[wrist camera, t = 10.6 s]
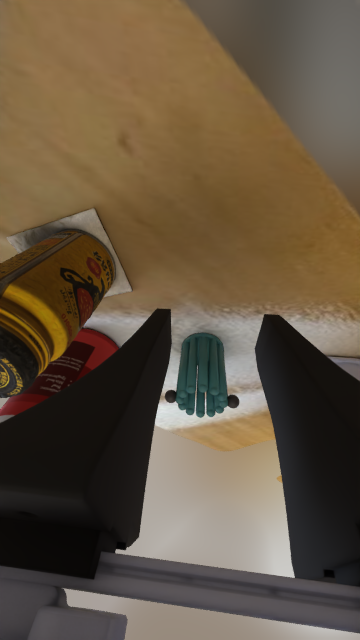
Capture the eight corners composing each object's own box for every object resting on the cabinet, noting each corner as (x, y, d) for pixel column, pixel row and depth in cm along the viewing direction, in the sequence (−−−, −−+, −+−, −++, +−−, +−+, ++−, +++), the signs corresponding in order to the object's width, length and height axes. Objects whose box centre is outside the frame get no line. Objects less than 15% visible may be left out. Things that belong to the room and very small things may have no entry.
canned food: (103, 381, 30) (60, 476, 21) (48, 348, 27) (-29, 442, 18) (138, 355, 26) (103, 457, 17) (78, 314, 23) (0, 411, 14)
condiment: (133, 290, 21) (71, 405, 11) (58, 306, 23) (-48, 416, 13) (95, 207, 17) (-53, 276, 7) (9, 236, 19) (-198, 321, 9)
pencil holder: (235, 334, 23) (229, 364, 26) (172, 330, 23) (173, 360, 26) (244, 391, 17) (235, 422, 20) (162, 385, 18) (165, 416, 21)
